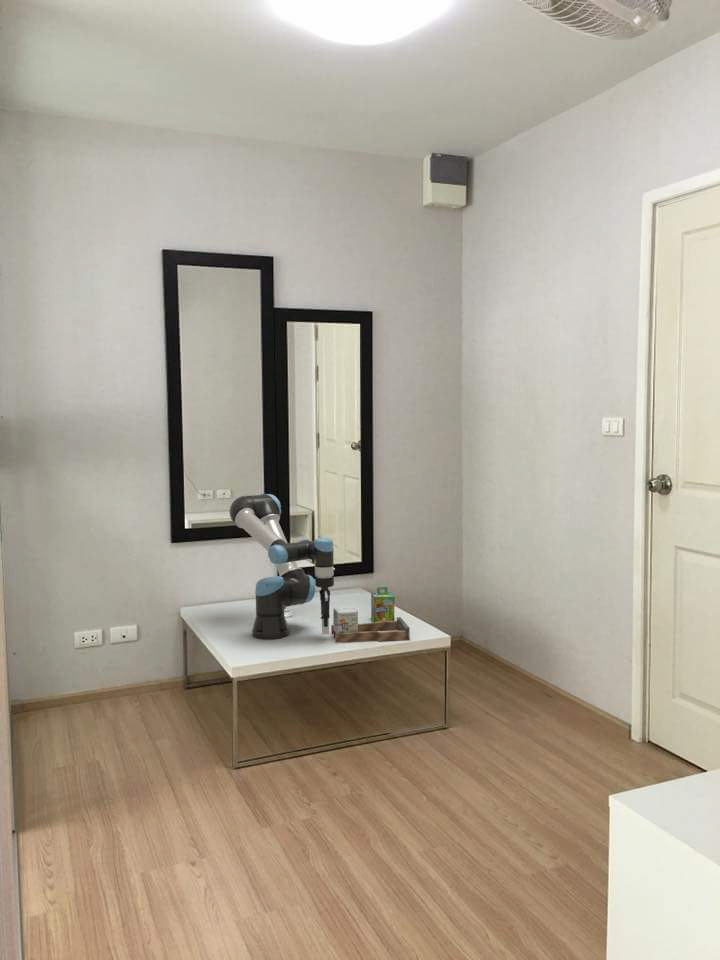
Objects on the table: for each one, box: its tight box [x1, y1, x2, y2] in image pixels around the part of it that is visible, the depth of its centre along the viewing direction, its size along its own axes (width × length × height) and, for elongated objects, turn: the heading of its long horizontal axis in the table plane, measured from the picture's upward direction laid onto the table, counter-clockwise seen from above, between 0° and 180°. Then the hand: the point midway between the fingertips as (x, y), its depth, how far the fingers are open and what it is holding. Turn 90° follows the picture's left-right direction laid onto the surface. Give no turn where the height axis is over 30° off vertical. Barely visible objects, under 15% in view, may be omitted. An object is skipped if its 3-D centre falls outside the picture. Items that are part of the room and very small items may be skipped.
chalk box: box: [370, 586, 396, 622], centre depth 359 cm, size 9×9×15 cm
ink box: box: [332, 606, 359, 638], centre depth 333 cm, size 9×9×12 cm
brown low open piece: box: [330, 616, 411, 644], centre depth 335 cm, size 30×17×5 cm, turn 100°
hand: (325, 633), depth 332 cm, fingers closed
